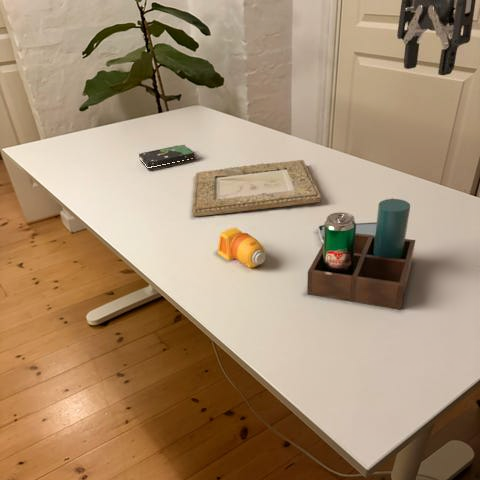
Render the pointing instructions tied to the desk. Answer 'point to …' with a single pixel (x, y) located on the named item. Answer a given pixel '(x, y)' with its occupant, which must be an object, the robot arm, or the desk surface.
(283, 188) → the picture frame
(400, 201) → the can
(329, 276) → the brown wooden compartment tray
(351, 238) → the soda can
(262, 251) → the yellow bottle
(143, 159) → the disk drive
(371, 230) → the smartphone
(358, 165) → the desk surface
